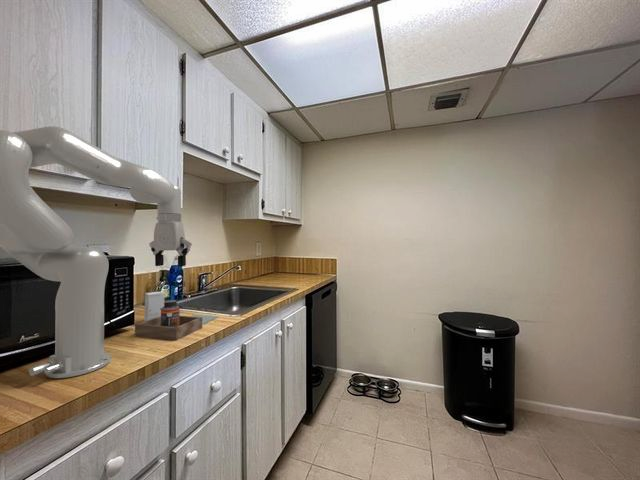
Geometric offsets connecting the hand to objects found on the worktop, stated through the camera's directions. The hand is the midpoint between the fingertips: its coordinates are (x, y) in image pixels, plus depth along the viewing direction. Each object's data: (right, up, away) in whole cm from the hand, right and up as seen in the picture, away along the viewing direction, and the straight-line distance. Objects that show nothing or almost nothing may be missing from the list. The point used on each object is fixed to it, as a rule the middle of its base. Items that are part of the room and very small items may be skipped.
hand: (170, 266), depth 97 cm
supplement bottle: (0, -24, 0) cm, 24 cm away
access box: (0, -24, 0) cm, 24 cm away
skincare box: (-13, -24, +11) cm, 29 cm away
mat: (+3, -24, +13) cm, 28 cm away
